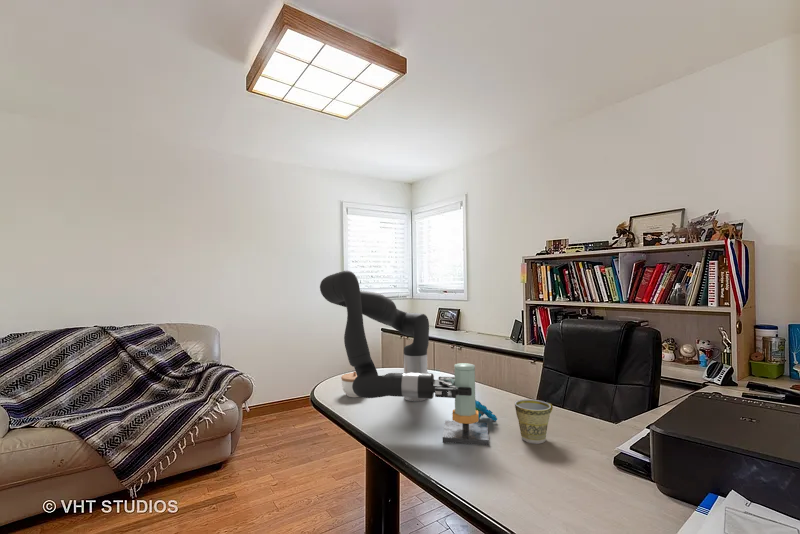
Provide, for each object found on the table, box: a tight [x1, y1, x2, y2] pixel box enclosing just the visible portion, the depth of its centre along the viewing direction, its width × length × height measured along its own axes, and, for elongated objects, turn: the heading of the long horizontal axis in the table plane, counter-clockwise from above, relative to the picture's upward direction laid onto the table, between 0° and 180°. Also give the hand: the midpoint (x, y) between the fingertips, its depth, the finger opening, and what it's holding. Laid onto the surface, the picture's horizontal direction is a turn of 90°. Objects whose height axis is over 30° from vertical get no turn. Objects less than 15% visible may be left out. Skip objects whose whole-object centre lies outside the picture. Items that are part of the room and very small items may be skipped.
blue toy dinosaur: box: [475, 399, 498, 422], centre depth 128 cm, size 11×6×10 cm
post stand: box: [442, 420, 490, 446], centre depth 117 cm, size 13×13×18 cm
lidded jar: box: [340, 371, 359, 398], centre depth 158 cm, size 11×11×9 cm
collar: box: [451, 408, 480, 424], centre depth 117 cm, size 8×8×2 cm
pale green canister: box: [454, 362, 476, 416], centre depth 117 cm, size 6×6×14 cm
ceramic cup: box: [514, 398, 554, 445], centre depth 115 cm, size 13×10×10 cm
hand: (471, 387), depth 117 cm, fingers open, 8 cm apart
